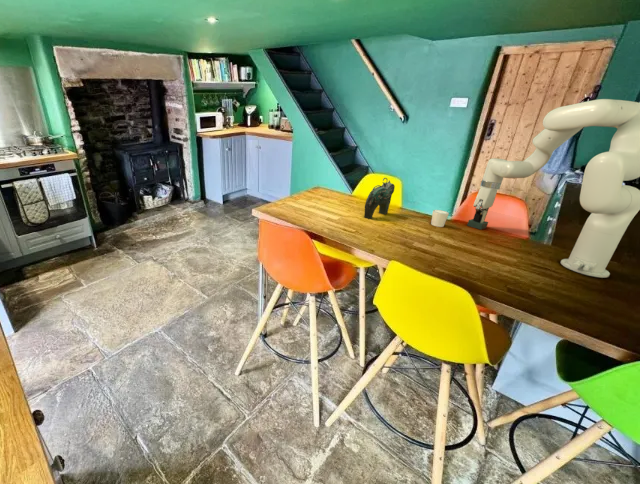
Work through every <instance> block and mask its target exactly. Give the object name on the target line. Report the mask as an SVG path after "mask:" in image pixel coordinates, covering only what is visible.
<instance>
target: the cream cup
mask: <svg viewBox="0 0 640 484" xmlns="http://www.w3.org/2000/svg"><path fill="white" fill-rule="evenodd" d="M449 215H450V213H449V212H448V211H446V210H441V209H432V215H431V221H430V225H432V226H434V227H438V228H444V227H445V224H446V222H447V220H448V217H449Z"/></svg>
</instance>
